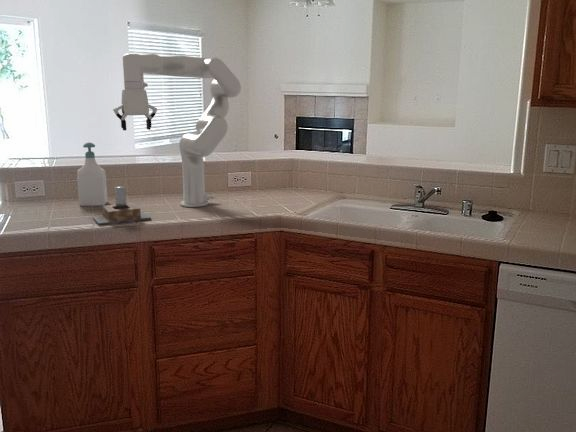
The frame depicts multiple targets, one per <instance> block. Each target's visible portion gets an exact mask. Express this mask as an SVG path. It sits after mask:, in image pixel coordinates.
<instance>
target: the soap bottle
mask: <svg viewBox="0 0 576 432" xmlns="http://www.w3.org/2000/svg"><path fill="white" fill-rule="evenodd" d="M95 147H96V144H94V143H93V142H89V141H88V142H86V143H84V144H83V148H87V151H86V152H85V154H84V155H85V159H84V161H85V162H84V164H83V165H82V166H81V167H80V168H78V169H77V170H76V182H77V191H78V193H77V194H78V205H79V206H81V207H82V206H83V207H84V206H87V207H88V206H106V205H107V203H108V201H109V200H108V189H107V187H108V186H107V175H106V173H107V172H106V170H105V169H104V168H102V167H101V166H100V165H99V164H98V163H97V161H96V158H95V157H96V156H95V152H94V151H92V148H95Z"/></svg>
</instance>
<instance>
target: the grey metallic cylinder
mask: <svg viewBox="0 0 576 432" xmlns="http://www.w3.org/2000/svg"><path fill="white" fill-rule="evenodd" d="M114 197H115V205H116V209H124V208H127V205H126V204H127V193H126V186H122V185H120V186H114Z"/></svg>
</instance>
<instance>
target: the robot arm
mask: <svg viewBox="0 0 576 432" xmlns="http://www.w3.org/2000/svg"><path fill="white" fill-rule="evenodd" d="M122 66H123V67H122V68H123V84H124V85H123V86H124V89H122V90H121V91H122V92H121V104H120V105H118V106H117V107H115V108H113V109H112V111H113V113H114V114H115V116H116V118H118V119H119V120H120V124H121V125H120V126H121V128H120V129H122V131H127V121H126V118H127V117H128V116H145V117H146V122H145V123H146V129H147V130H151V128H152V119H153V118H154V117H155V116H156V113H157V111H158V108H157V107H155V106H153V105H152V104H149V98H148V93H147V90H146V88H147V87H148V83H147V82H146V83H145V81H144V80H145V79H144V74H145V75H157V76H170V77H180V78H181V77H182V78H195V79H212V81H211V83H210V85H209V87H210V88H209V90H210V93H211V94H210V95H211V101H210V103H209V105H208V107H207V109H206V110H205V111H204V112H203V113H202V115H201V116H200V117H199V118H198V120H197V122H196V123H195V130H196V132H197V133H195V132H189V133H185V134H183V135H182V136H181V137H180V140H179V144H178V145H179V152H180V157H181V167H182V168H181V169H182V173H181V174H182V194H183V195H182V197H183V200H181V201H179V205H180V206H181V207H186V208H198V207H204V206H206V207H207V206H208V205H209V204H210V203H209V202H210V201H209V200H215V199H216V194H207V193H206V186H205V162H204V158H207V157H209V156H210V155H211V154H212V153H213V152H214V151H215V149H217V147H218V145H220V143H221V142H222V140H223V139H224V137H225V136H226V134H227V132H228V122H227V119H225V118H226V116H227V115H228V112H229V110H230V109H229V107H230V105H229V104H230V103H229V98H236V97H237V96H238V95H240V93H241V91H242V90H241V89H242V85H241V82H240V81H239V79H238V78H237V76H236V75H235V74H234V72H233V71H232V70H231V68H230V67H228V66H227V64H226V63H225V62H224V61H223V60H221V59H220V58H218V57H199V56H187V55H174V56H173V55H170V56H160V55H158V54H157V53H156V54H155V53H148V54H139V53H125V54H123V56H122ZM120 110H121V114H120V112H119V111H120ZM150 110H151V111H152V112H151V113H150Z"/></svg>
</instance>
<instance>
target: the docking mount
mask: <svg viewBox="0 0 576 432" xmlns="http://www.w3.org/2000/svg"><path fill="white" fill-rule="evenodd" d="M126 205H127V208H124V209H116V204H108V205H107V204H105V205H101V206H102V207H101V208H102V215H95V216H94V215H93V216H92V220H93V221H94V223H96V225H97V226H98V227H100V226H101V225H102V226H109V225H110V224H111V225H120V224H126V222H129V223H136V222H135V221H138V222H144V221H146V220H147V221H152V217H151V216H150V215H148V214H147V213H146V212H144V211H141V208H140V207H139V206H137V205H136V204H135V203H133V202H128V203H127V202H126ZM119 223H120V224H119Z"/></svg>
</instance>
